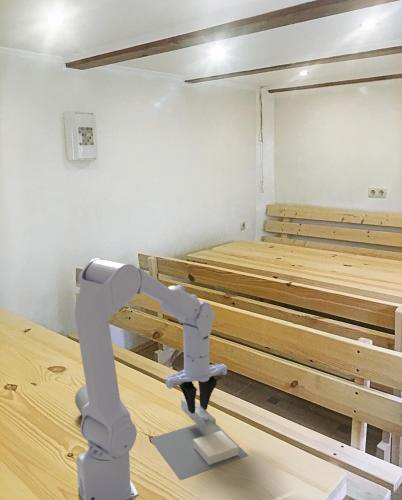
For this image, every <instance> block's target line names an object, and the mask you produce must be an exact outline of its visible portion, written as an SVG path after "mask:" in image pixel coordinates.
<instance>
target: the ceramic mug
mask: <svg viewBox="0 0 402 500" xmlns="http://www.w3.org/2000/svg"><path fill="white" fill-rule="evenodd" d="M88 402H89V399H88V393H87V387H86V383H85V384H83V385H82V386H80V387H79V388H78V390H77V391H76V394H75V397H74V403H75V404H74V405H76V407H77V409H78V411H79V413H80V414H81V417H82V416H83V415H82V408H83V407H84V406H85V405H86V404H87V403H88Z"/></svg>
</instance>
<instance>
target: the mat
mask: <svg viewBox="0 0 402 500" xmlns="http://www.w3.org/2000/svg"><path fill="white" fill-rule="evenodd" d="M218 431H222V432H223V433H224V434H225V435H226V436H227V437H228V438H229V439H230V440H231V441H233V442H234V443H235V444H236V445H237V446H238V455H236V456H233V457H230V458H227V459H225V460H222V461H219V462H216V463H213V464H211V465H209V464H208V463H207V462H206V461H205V460H204V459H203V458H202V456H201V455H200V454H199V453H198V452H197V451H196V450H195V448H194V447H193V439H196V438H199V437H203V436H206V435H209V434H212V433H215V432H218ZM148 440H150V442H151V443H152V444H153V446H154V447H155V448H156V450H157V451H158V452H159V454H160V455H161V457H162V458H163V459H164V461H165V462H166V463H167V464H168V466H169V467H170V469H171V470H172V471H173V473H174V474H175V475H176V477H177V478H178V480H180V481H181V480H184V479H188V478H190V477H193V476H195V475H198V474H202V473H204V472H207V471H209V470H213V469H215V468H217V467H221V466H223V465H226V464H229V463H231V462H234V461H237V460H240V459H243V458H245V457H248V456H249V454H248V453H247V452H246V451H245V450H244V449H243V448H242V447H241V446H240V445H239V444H237V442H236V441H234V439H233V438H231V437H230V436H229V435H228V434H227V433H226V432H225V431H224V429H222V428H221V427H220V426H219V425H218V424H217V423H216V430H214V431H211V432H207V433H205V432H204V431H203V430H202V429H201V428H200V427H199V426H198V425H197V424H196V423H195V424H192V425H189V426H186V427H183V428H179V429H176V430H173V431H169V432H166V433H163V434H160V435H157V436H153V437H150V438H149V439H148Z"/></svg>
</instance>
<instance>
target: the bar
mask: <svg viewBox="0 0 402 500" xmlns="http://www.w3.org/2000/svg"><path fill="white" fill-rule="evenodd" d="M180 403H181V404H180V408H181V410H182V411H183V412H184V413H185V414H186V415H187V416H188V417H189V418H190V419H191V421H192V422H194V423H195V424H197V425H198V426H199V427H200V428H201V429H202V430H203V431H204V432H205V433H207V432H211V431H214V430H216V424H217V423H216V422H217V421H216V418H215V417H214V416H212V414H211V413H210V412H208V411H207V410H205V409H204V408H202V407H201V406H200V403H198V402H197V400H195V413H193V414H192V413H191V412H190V411H189V410H188V406H187V402H186V399H185V397H184V398H180Z"/></svg>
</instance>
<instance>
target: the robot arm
mask: <svg viewBox="0 0 402 500" xmlns="http://www.w3.org/2000/svg"><path fill="white" fill-rule="evenodd" d="M77 277H78V282H79V284H78V285H79V293H78V297H77V301H76V305H75V310H74V318H75V325H76V331H77V338H78V341H79V349H80V356H81V360H82V361H81V363H82V367H83V372H84V374H83V375H84V379H85V384H86V387H87V393H88V399H89V402H88V403H87V404H86V405H85V406H84V407H83V408H82V414H81V417H82V418H81V422H80V434H81V436H82V437H83V438H84V439H86V440H87V446H88V449H87V450H86V451H85V452H82V453H81V454H79V455H77V456H76V468H77V471H76V472H77V485H78V486H77V490H78V492H79V496H80V497H81V499H82V500H129V499H133V498H135V497H137V496H138V495H139V492H138V490H137V489H136V487H135V485H134V484H133V482H132V480H131V470H130V469H131V467H130V465H131V464H130V451H131V450H132V448H133V447H134V445H135V442H136V440H137V434H138V432H137V431H138V430H137V426H136V425H135V424H134V423H133V421H132V418H131V414H130V413H131V412H130V411H129V410H128V409H127V407H126V406H125V405H124V403H123V401H122V400H121V399H120V398H121V397H120V390H119V384H118V383H119V382H118V378H117V377H118V376H117V370H116V363H115V357H114V349H113V343H112V342H113V341H112V340H113V339H112V336H111V334H112V333H111V328H110V319H111V317H112V316H114V315H116V314H117V313H118V312H119V311H121V309H122V308H123V307H124V306H125V305H127V304H128V303H129V302H130V301H131V300H132V299H134V297H135V296H136V295H137V294H138V295H142V294H143V295H145V296H147V297H149V298H151V299H153V300H155V301H157V302H158V303H159V304H158V305H159V307H160V310H161V311H163V312H164V313H166V314H168V315H170V316H172V317H173V318H175V319H177V321H178V323H180V324H183V325H182V328H183V331H182V332H183V333H182V335H183V339H182V340H183V369H182V370H180V371H177V372H176V373H174V374H171V375H168V376H165V386H166V387H167V388H168V390H170V389H174V387H176V386H179V388H180V390H181V391H182V394H183V397H184V398H185V399H186V402H187V406H188V410H189V411H190V412H191V413H192V414H193V413H195V401H196V395H197V391H198V388H199V405H200V406H201V407H202V408H204V409H205V410H206V411H207V409H208V407H209V402H210V398H211V396H212V393H213V392H214V390H215V388H216V386H217V383H218V382H217V379H216V378H215V376H219V375H222V376H224V375H228V366H227V365H225V364H224V363H218V364H210V361H211V360H210V335H211V333H212V327H213V323H214V322H215V321H214V320H215V317H216V312H215V311H214V308H213V307H212V305H211V304H210V303H209V302H205V301H201V300H199V299H198V296H197V294H193V293H192V294H190V293H189V292H187V291H185V290H186V287H185V286H183V285H179V284H177V285H169V286H167V285H165V284H163V283H162V282H161V281H160V280H158V279H156V278H155V277H154V276H152V275H151V274H149V273H148V272H146V271H145V269H143V268H139V267H137V266H136V265H134V264H130V263H121V262H116V261H112V260H111V261H110V260H106V259H103V258H101V257H100V258H99V257H97V258H94V259H90V261H88V262H87V263H86V265H85V266H84V268H83V269H82V270H81V271H80V273H79V274H78V276H77ZM194 382H198V388H196V386H195V384H194ZM82 415H83V416H82Z"/></svg>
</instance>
